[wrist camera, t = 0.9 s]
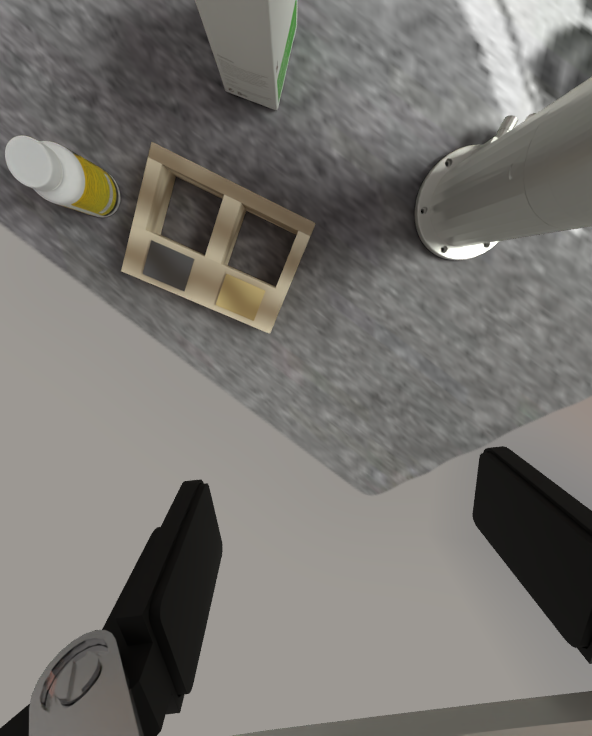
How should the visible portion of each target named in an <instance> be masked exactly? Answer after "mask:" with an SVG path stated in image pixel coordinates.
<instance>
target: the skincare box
mask: <svg viewBox="0 0 592 736" xmlns="http://www.w3.org/2000/svg"><path fill="white" fill-rule="evenodd" d="M195 2H196V5H197V8H198V11H199V14H200V17H201V20H202V22H203V25H204V28H205V31H206V34H207V37H208V40H209V43H210V46H211V49H212V52H213V55H214V58H215V61H216V64H217V67H218V70H219V73H220V76H221V79H222V82H223V85H224V88H225V91H226V92H229V93H232V94H234V95H237V96H239V97H242V98H244V99H247V100H250V101H252V102H255V103H258V104H260V105H263V106H266V107H268V108H271V109H274V110H277V109H278V106H279V102H280V97H281V93H282V89H283V85H284V80H285V76H286V72H287V67H288V63H289V58H290V54H291V49H292V45H293V41H294V37H295V32H296V28H297V0H195Z"/></svg>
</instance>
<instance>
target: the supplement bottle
mask: <svg viewBox="0 0 592 736" xmlns="http://www.w3.org/2000/svg"><path fill="white" fill-rule="evenodd" d="M5 159H6V163H7V166H8V168H9V170H10V172H11V173H12V175H13V176H14V177H15V178H16V179H17V180H18V181H19V182H21V183H22V184H24V185H26V186H28V187H31V188H33V189H34V190H35V191H36V192H37V193H38V194H39V195H40V196H41V197H43V198H44V199H46V200H48V201H50V202H52V203H55V204H58V205H61V206H64V207H67V208H70V209H74V210H77V211H80V212H83V213H86V214H89V215H92V216H96V217H108V216H111V215H112V214H114V213H115V212H116V211H117V209H118V207H119V205H120V191H119V188H118V185H117V183H116V182H115V180H114V179H113V177H112V176H111V175H110V174H109V173H107V172H106V171H105V170H103V169H101V168H100V167H98V166H96V165H95V164H93V163H91V162H89V161H88V160H86V159H84V158H83V157H81V156H79V155H77V154H76V153H74V152H72V151H71V150H69V149H67V148H65V147H63V146H61V145H60V144H57V143H54V142H51V141H37V140H35V139H33V138H31V137H28V136H16V137H14V138H12V139H11V140H10V141H9V142H8V144H7V146H6V149H5Z"/></svg>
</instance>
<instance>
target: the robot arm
mask: <svg viewBox="0 0 592 736" xmlns="http://www.w3.org/2000/svg"><path fill="white" fill-rule="evenodd" d="M517 121H518V119H517V118H516V117H515V116H507V117H505V119H504V120H503V122H502V124H501V126H500V128H499V130H498V131H497V132H498V133H497V134H496V136H495V137H493V138H492V139H490V140H489V141H487V142H486V143H485V144H483V145H469V146H465V147H462V148H459V149H457V150H455V151H453V152H452V153H450V154H448V155H447V156H445V157H444V158H443V159H441V160H440V161H439V162H438V163H437V164H436V165H435V166H434V167H433V168H432V169H431V170H430V172H429V173H428V175H427V176H426V177H425V179H424V181H423V183H422V185H421V187H420V189H419V192H418V196H417V199H416V205H415V224H416V229H417V232H418V234H419V237H420V239H421V241H422V242H423V244H424V245H425V247H426V248H427V249H429V250H430V251H431V252H432V253H433V254H435V255H437V256H438V257H441V258H444V259H447V260H465V259H470V258H474V257H476V256H479V255H481V254H483V253H485V252H486V251H488V250H489V249H491V248H492V247H493V246H494V245H495V244H496V243H498V242H499V241H503V240H510V239H516V238H522V237H528V236H534V235H540V234H547V233H553V232H559V231H565V230H571V229H578V228H584V227H590V226H592V77H591V78H589V79H588V80H586V81H585V82H583V83H582V84H580V85H579V86H577V87H576V88H574V89H573V90H571V91H570V92H568V93H567V94H565V95H564V96H562V97H561V98H559V99H558V100H556V101H555V102H553V103H552V104H550V105H548V106H547V107H545V108H544V109H542V110H541V111H539V112H538V113H533V114H530V115H529V116H528V117H527V118H526V119H525V121H524V122H522V123H521V124H519V125H518V126H516V127H515V125H516V123H517ZM514 127H515V128H514ZM445 164H446V166H445ZM421 210H422V211H423V213H422V214H421ZM483 244H484V246H483ZM441 248H442V252H441ZM473 520H474V522H475V524H476V526H477V527H478V529H479V530H480V531H481V533H482V534H483V535H484V536H485V538H486V539H487V540H488V542H489V543H490V544H491V545H492V547H493V548H494V549H495V551H496V552H497V553H498V554H499V556H500V557H501V558H502V559H503V561H504V562H505V563H506V564H507V566H508V567H509V568H510V570H511V571H512V572H513V574H514V575H515V576H516V577H517V579H518V580H519V581H520V582H521V584H522V585H523V586H524V588H525V589H526V590H527V591H528V593H529V594H530V595H531V597H532V598H533V599H534V600H535V602H536V603H537V604H538V606H539V607H540V608H541V609H542V611H543V612H544V613H545V614H546V616H547V617H548V618H549V620H550V621H551V622H552V623H553V625H554V626H555V627H556V628H557V630H558V631H559V632H560V634H561V635H562V636H563V638H564V639H565V640H566V641H567V642H568V643H569V644H570V645H571V646H573V647H575V648H578V650H579V651H580V652H581V654H582V655H583V656H584V657H585V659H586V660H587V661H588V662H589V664H592V511H591V510H590V509H588V508H587V507H586V506H584V505H583V504H582V503H580V502H579V501H578V500H576V499H575V498H574V497H572V496H571V495H570V494H568V493H567V492H566V491H564V490H563V489H562V488H561V487H559V486H558V485H556V484H555V483H554V482H552V481H551V480H550V479H549V478H547V477H546V476H544V475H543V474H542V473H541V472H539V471H538V470H536V469H535V468H534V467H533V466H531V465H530V464H529V463H527V462H526V461H525V460H523V459H522V458H520V457H519V456H518V455H517V454H515V453H514V452H513V451H511V450H510V449H508V448H507V447H503V446H502V447H493V448H487V449H485V450H484V452H483V453H482V454H481V455H480V458H479V467H478V474H477V482H476V491H475V499H474V507H473ZM221 557H222V540H221V536H220V532H219V527H218V523H217V519H216V514H215V510H214V506H213V501H212V497H211V493H210V489H209V485H208V484H204V483H203V481H202V480H192V481H185V482H183V483H182V485H181V487H180V489H179V491H178V493H177V495H176V497H175V499H174V501H173V504H172V505H171V507H170V509H169V511H168V513H167V515H166V517H165V519H164V521H163V523H162V525H161V527H158V528H156V529H155V530H154V531H153V533H152V534H151V536H150V538H149V540H148V542H147V544H146V546H145V548H144V550H143V552H142V554H141V556H140V557H139V559H138V561H137V563H136V565H135V567H134V569H133V571H132V573H131V575H130V577H129V579H128V581H127V583H126V585H125V586H124V588H123V590H122V593H121V594H120V596H119V598H118V600H117V602H116V604H115V606H114V608H113V610H112V612H111V614H110V616H109V618H108V619H107V621H106V623H105V625H104V627H103V629H102V630H95V631H92V632H89V633H86V634H84V635H82V636H81V637H79V638H77V639H76V640H74V641H72V642H71V643H70V644H69V645H67V646H66V647H65V648H64V649H63V650H61V651H60V652H59V654H58V655H57V656H56V657H55V658H54V659H53V660H52V661H51V662H50V663H49V665H48V666H47V667H46V669H45V670H44V672H43V674H42V675H41V677H40V678H39V680H38V682H37V684H36V686H35V688H34V691H33V693H32V696H31V701H30V704H29V705H28V706H26V707H25V708H24V709H23V710H22V711H20V712H19V713H18V714H17V715H16V716H15V717H13V718H12V719H11V720H10V721H8V722H7V723H6V724H5V725H4V726H2V728H0V736H157V735H158V734H159V732H160V731H161V729H162V725H163V722H164V718H165V714H173V713H180V711H181V706H182V702H183V698H184V694H189V693H190V692H191V689H192V686H193V682H194V678H195V674H196V669H197V665H198V660H199V656H200V651H201V647H202V642H203V638H204V633H205V629H206V624H207V620H208V615H209V611H210V606H211V602H212V597H213V593H214V588H215V584H216V579H217V574H218V570H219V566H220V561H221ZM234 736H592V691H588V692H579V693H571V694H562V695H553V696H545V697H536V698H527V699H518V700H509V701H501V702H493V703H484V704H476V705H468V706H459V707H451V708H443V709H434V710H426V711H417V712H410V713H401V714H393V715H385V716H377V717H369V718H361V719H353V720H346V721H337V722H330V723H321V724H314V725H306V726H299V727H290V728H282V729H274V730H267V731H260V732H253V733H247V734H240V735H234Z"/></svg>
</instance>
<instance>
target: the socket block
mask: <svg viewBox="0 0 592 736" xmlns="http://www.w3.org/2000/svg"><path fill="white" fill-rule="evenodd" d="M176 177H178V178H180V179H182V180H184V181H186V182H188V183H190V184H192V185H194V186H197V187H199V188H201V189H203V190H205V191H207V192H209V193H211V194H213V195H215V196H217V197H219V198H221V199H223V200H222V203H221V207H220V210H219V213H218V216H217V219H216V222H215V225H214V229H213V232H212V235H211V238H210V241H209V244H208V248H207V251H206V254H205V255H204V254H202V253H200V252H198V251H195V250H193V249H191V248H189V247H186V246H184V245H182V244H180V243H178V242H175V241H173V240H171V239H169V238H166V237H164V236H162V235H161V231H162V228H163V224H164V220H165V216H166V213H167V209H168V205H169V201H170V198H171V194H172V190H173V186H174V183H175V179H176ZM246 211H248V212H250V213H252V214H254V215H256V216H258V217H260V218H262V219H265V220H267V221H269V222H271V223H273V224H275V225H277V226H279V227H281V228H283V229H285V230H287V231H289V232H291V233H293V234H295V235H297V236H296V238H295V241H294V243H293V246H292V248H291V251H290V253H289V256H288V258H287V261H286V263H285V266H284V268H283V271H282V273H281V276H280V278H279V281H278V283H277V286H276V287H275V286H273V285H271V284H269V283H267V282H264V281H262V280H260V279H258V278H255V277H253V276H251V275H249V274H247V273H244V272H242V271H240V270H238V269H235V268H233V267H231V266H229V265H228V263H229V260H230V257H231V254H232V251H233V248H234V245H235V242H236V239H237V237H238V234H239V231H240V228H241V225H242V222H243V219H244V216H245V213H246ZM315 224H316V223H314V222H312V221H310V220H308V219H306V218H304V217H302V216H300V215H298V214H296V213H294V212H292V211H290V210H288V209H286V208H284V207H282V206H280V205H278V204H276V203H274V202H272V201H270V200H268V199H266V198H264V197H262V196H260V195H258V194H256V193H254V192H252V191H250V190H248V189H246V188H244V187H242V186H240V185H238V184H235V183H233V182H231V181H229V180H227V179H225V178H223V177H221V176H219V175H217V174H215V173H213V172H211V171H209V170H207V169H205V168H203V167H201V166H199V165H197V164H195V163H193V162H191V161H189V160H187V159H185V158H183V157H181V156H179V155H177V154H175V153H173V152H171V151H169V150H167V149H165V148H163V147H161V146H159V145H157V144H155V143H153V142H152V143H151V147H150V151H149V155H148V160H147V164H146V168H145V172H144V176H143V181H142V185H141V189H140V193H139V198H138V202H137V206H136V210H135V215H134V219H133V223H132V227H131V232H130V236H129V240H128V244H127V249H126V253H125V257H124V261H123V265H122V270H121V271H122V272H124V273H127V274H129V275H132V276H134V277H136V278H139V279H141V280H143V281H146V282H148V283H150V284H153V285H155V286H158V287H160V288H162V289H165V290H167V291H169V292H172V293H174V294H177V295H179V296H181V297H184V298H186V299H188V300H191V301H193V302H196V303H198V304H200V305H203V306H205V307H207V308H210V309H212V310H215V311H217V312H219V313H222V314H224V315H226V316H229V317H231V318H234V319H236V320H238V321H241V322H243V323H245V324H248V325H250V326H253V327H255V328H257V329H260V330H262V331H264V332H267V333H269V334H270V333H271V330H272V328H273V325H274V323H275V320H276V318H277V316H278V313H279V311H280V308H281V306H282V304H283V301H284V299H285V296H286V294H287V292H288V289H289V287H290V284H291V282H292V279H293V277H294V275H295V272H296V270H297V267H298V265H299V263H300V260H301V258H302V255H303V253H304V250H305V248H306V246H307V243H308V241H309V238H310V236H311V234H312V231H313V229H314V226H315Z"/></svg>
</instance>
